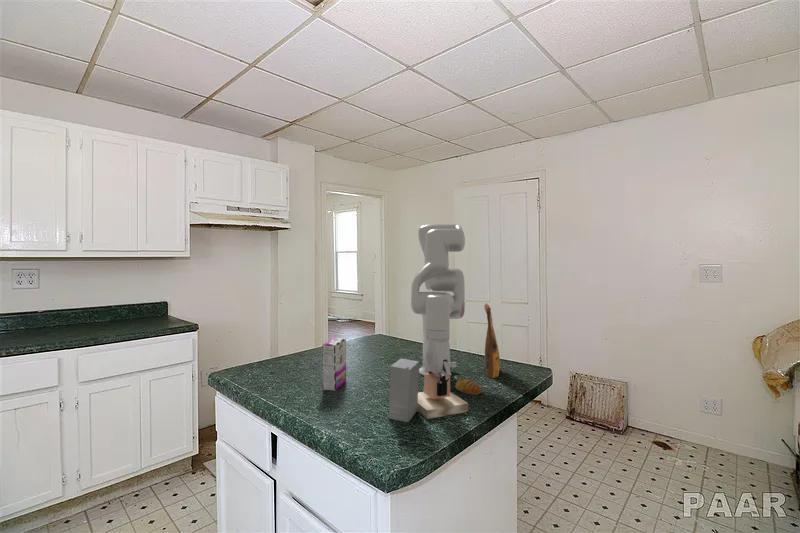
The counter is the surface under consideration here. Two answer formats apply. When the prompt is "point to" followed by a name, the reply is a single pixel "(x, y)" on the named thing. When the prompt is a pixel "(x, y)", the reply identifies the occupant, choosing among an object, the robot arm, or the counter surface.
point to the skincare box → (403, 389)
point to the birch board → (440, 405)
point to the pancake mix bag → (491, 348)
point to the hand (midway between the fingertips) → (436, 391)
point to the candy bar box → (334, 364)
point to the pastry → (468, 387)
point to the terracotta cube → (434, 385)
